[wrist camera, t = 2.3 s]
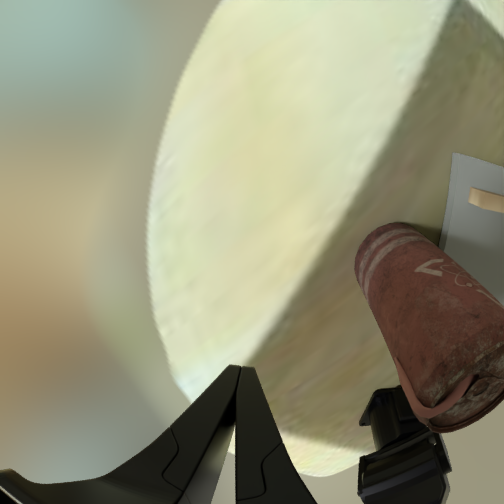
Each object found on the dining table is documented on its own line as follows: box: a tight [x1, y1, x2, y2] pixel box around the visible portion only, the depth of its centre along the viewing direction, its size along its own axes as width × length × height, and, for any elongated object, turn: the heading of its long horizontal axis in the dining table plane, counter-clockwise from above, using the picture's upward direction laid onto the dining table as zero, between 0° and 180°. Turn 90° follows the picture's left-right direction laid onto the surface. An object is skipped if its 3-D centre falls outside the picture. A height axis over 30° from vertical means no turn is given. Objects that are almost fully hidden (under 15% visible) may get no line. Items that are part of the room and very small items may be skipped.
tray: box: [438, 153, 504, 306], centre depth 18 cm, size 18×14×3 cm
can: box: [355, 223, 504, 434], centre depth 14 cm, size 6×6×14 cm
